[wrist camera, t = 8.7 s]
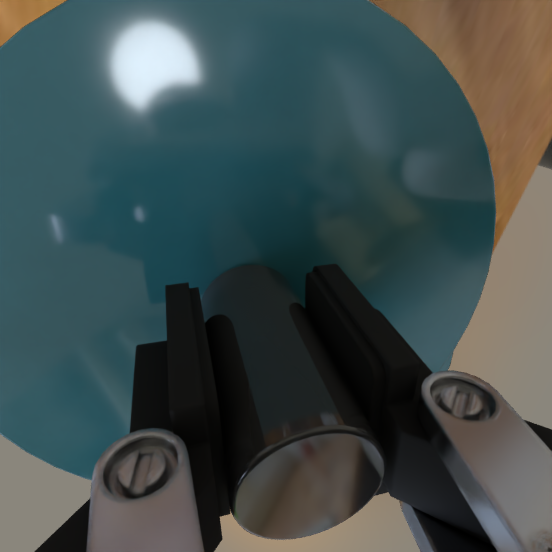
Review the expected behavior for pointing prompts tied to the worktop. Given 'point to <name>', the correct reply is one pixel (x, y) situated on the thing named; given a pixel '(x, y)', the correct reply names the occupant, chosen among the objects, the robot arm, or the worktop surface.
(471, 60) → the worktop surface
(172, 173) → the lid
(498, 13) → the worktop surface
